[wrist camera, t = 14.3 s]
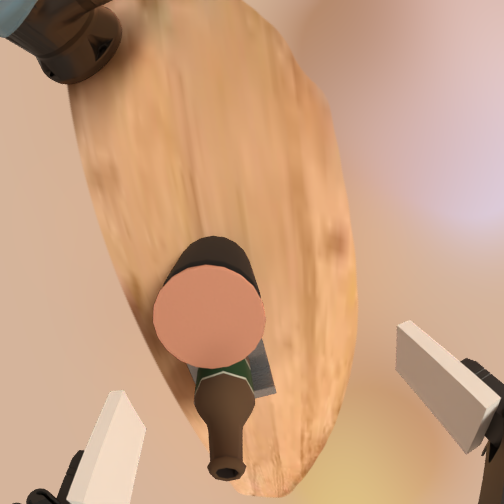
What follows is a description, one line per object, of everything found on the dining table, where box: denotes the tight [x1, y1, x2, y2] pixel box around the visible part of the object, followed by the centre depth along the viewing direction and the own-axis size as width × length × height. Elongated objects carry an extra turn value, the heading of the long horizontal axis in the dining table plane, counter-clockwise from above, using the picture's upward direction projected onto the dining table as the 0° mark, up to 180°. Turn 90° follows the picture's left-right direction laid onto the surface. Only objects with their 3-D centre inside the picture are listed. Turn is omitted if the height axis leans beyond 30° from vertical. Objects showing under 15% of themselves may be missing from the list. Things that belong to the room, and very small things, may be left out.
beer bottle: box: [194, 356, 255, 481], centre depth 34 cm, size 8×8×24 cm
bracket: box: [187, 338, 276, 405], centre depth 44 cm, size 13×13×6 cm
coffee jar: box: [153, 236, 266, 369], centre depth 36 cm, size 11×11×18 cm
